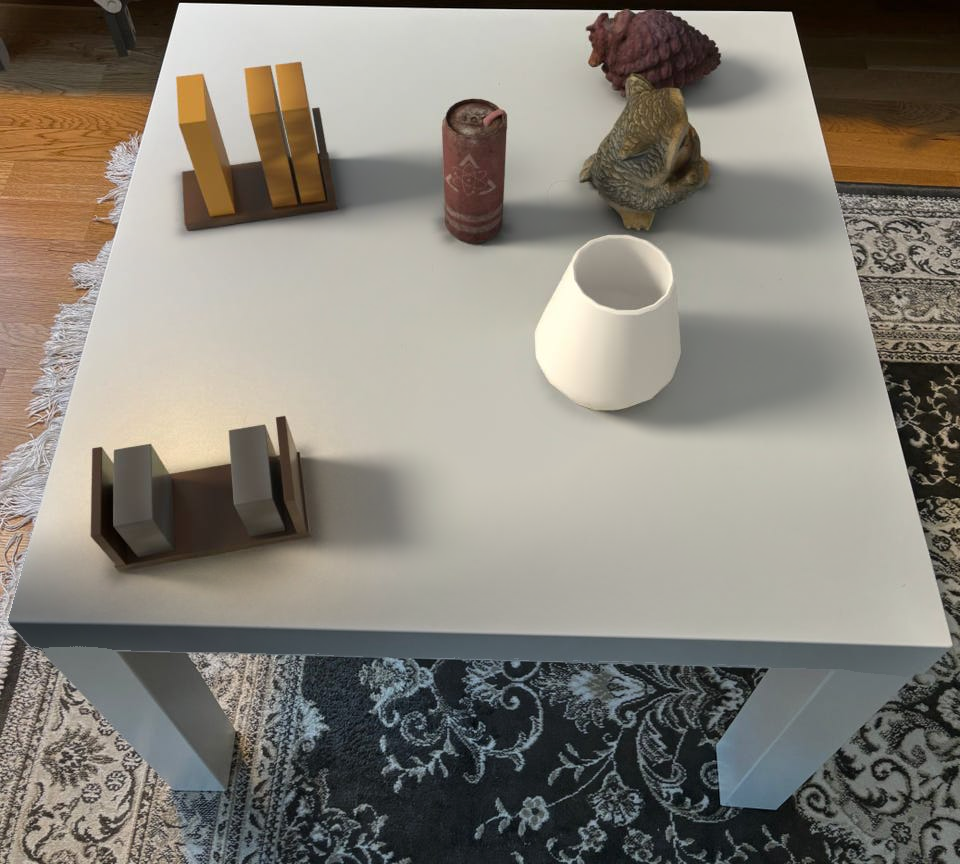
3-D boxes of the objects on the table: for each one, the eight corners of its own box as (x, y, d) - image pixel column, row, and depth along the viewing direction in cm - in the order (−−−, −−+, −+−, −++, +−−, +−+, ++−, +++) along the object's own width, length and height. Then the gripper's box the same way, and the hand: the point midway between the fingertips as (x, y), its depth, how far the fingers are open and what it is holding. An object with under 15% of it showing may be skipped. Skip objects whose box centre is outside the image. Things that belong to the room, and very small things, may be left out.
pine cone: (696, 43, 111) (744, 4, 101) (697, 122, 110) (746, 90, 101) (566, 21, 105) (604, -23, 96) (567, 104, 105) (605, 68, 95)
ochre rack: (186, 230, 94) (148, 131, 82) (184, 178, 98) (147, 76, 87) (338, 209, 95) (320, 109, 84) (329, 158, 99) (311, 56, 88)
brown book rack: (118, 572, 74) (87, 537, 68) (118, 488, 78) (89, 448, 72) (311, 536, 76) (297, 499, 70) (301, 456, 80) (287, 415, 74)
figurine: (721, 248, 93) (761, 133, 80) (582, 246, 93) (600, 131, 80) (704, 155, 100) (738, 35, 88) (575, 153, 100) (591, 33, 87)
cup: (542, 305, 89) (554, 202, 77) (676, 326, 88) (709, 225, 76) (520, 416, 82) (529, 322, 70) (665, 441, 81) (699, 350, 69)
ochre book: (210, 217, 93) (178, 124, 83) (207, 171, 97) (175, 76, 87) (235, 213, 94) (206, 120, 83) (231, 167, 97) (202, 73, 87)
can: (515, 231, 94) (522, 123, 82) (463, 253, 92) (462, 147, 80) (485, 195, 97) (488, 86, 85) (434, 217, 95) (430, 108, 83)
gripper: (89, -230, 54) (163, 18, 67) (-163, -213, 52) (-34, 39, 66) (87, -171, 50) (166, 80, 64) (-186, -151, 48) (-43, 103, 62)
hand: (64, 59), depth 65 cm, fingers open, 8 cm apart
